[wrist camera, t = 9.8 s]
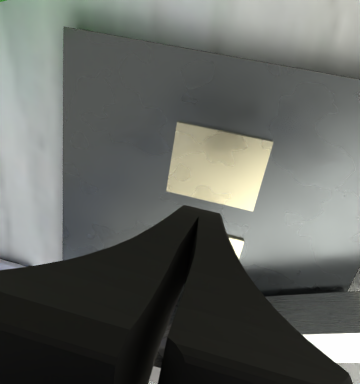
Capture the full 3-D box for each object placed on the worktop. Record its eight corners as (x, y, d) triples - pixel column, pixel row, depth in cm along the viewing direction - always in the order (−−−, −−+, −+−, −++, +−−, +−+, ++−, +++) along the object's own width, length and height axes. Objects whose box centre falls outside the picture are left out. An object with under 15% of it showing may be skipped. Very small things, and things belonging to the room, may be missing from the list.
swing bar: (165, 302, 21) (153, 338, 18) (437, 286, 17) (473, 330, 14) (173, 325, 22) (162, 363, 19) (435, 315, 18) (470, 362, 15)
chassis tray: (70, 296, 25) (32, 346, 21) (75, 28, 17) (15, 18, 13) (301, 362, 23) (313, 433, 18) (431, 92, 15) (505, 106, 10)
